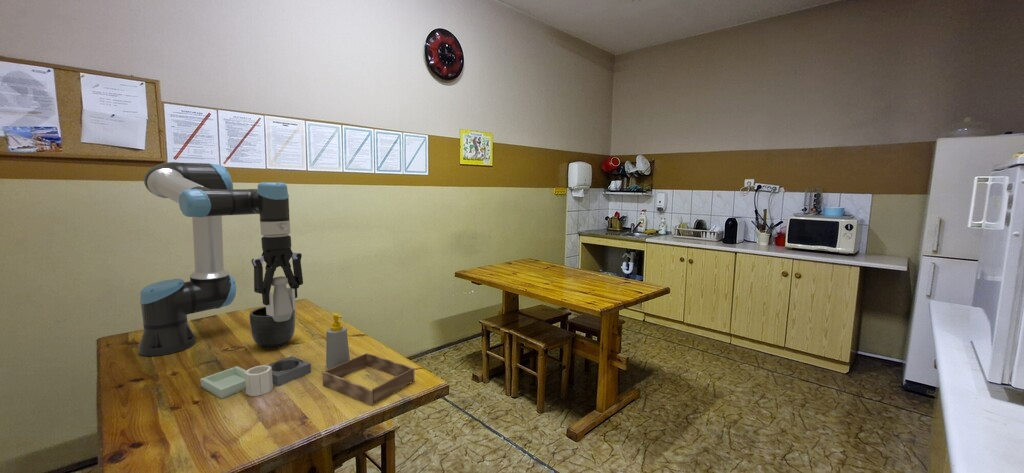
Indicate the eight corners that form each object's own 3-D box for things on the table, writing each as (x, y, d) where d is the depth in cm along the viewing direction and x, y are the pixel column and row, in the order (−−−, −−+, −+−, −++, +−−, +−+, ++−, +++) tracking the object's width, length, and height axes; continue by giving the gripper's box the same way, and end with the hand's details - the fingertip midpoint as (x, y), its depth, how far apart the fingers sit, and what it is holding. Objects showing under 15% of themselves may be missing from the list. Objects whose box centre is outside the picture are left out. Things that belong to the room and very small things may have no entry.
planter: (300, 336, 153) (298, 303, 151) (292, 350, 140) (290, 314, 138) (258, 340, 148) (255, 306, 147) (246, 355, 135) (243, 318, 134)
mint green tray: (201, 387, 114) (200, 378, 114) (237, 373, 122) (237, 366, 122) (221, 398, 108) (220, 390, 107) (258, 384, 116) (258, 375, 116)
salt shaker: (283, 323, 117) (280, 279, 115) (266, 322, 118) (262, 278, 116) (297, 317, 123) (294, 275, 121) (281, 315, 124) (278, 274, 122)
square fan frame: (259, 377, 120) (258, 367, 119) (292, 364, 128) (291, 355, 128) (278, 386, 115) (277, 375, 114) (311, 372, 123) (310, 362, 123)
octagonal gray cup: (242, 392, 111) (241, 371, 111) (265, 383, 116) (263, 363, 116) (254, 398, 108) (252, 377, 107) (276, 388, 113) (275, 368, 113)
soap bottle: (332, 376, 121) (329, 319, 119) (322, 369, 126) (319, 313, 123) (354, 368, 126) (352, 313, 124) (344, 362, 131) (341, 309, 128)
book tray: (322, 385, 116) (322, 371, 115) (367, 364, 129) (367, 352, 128) (371, 405, 105) (371, 391, 105) (414, 381, 118) (414, 368, 118)
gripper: (248, 239, 107) (255, 323, 110) (313, 233, 123) (318, 306, 126) (234, 238, 111) (240, 318, 114) (299, 231, 127) (303, 302, 130)
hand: (281, 311), depth 120 cm, fingers closed on salt shaker, 6 cm apart
